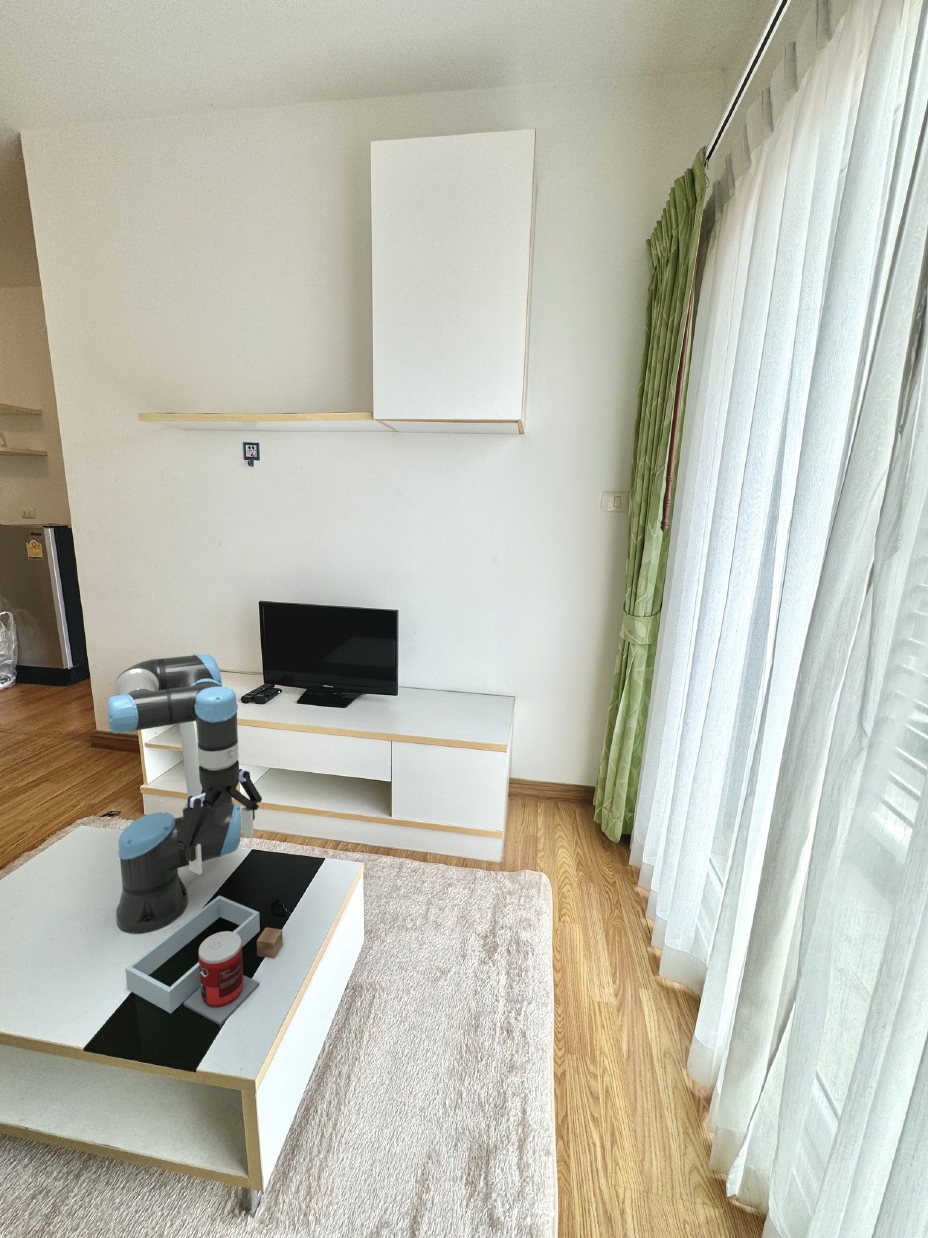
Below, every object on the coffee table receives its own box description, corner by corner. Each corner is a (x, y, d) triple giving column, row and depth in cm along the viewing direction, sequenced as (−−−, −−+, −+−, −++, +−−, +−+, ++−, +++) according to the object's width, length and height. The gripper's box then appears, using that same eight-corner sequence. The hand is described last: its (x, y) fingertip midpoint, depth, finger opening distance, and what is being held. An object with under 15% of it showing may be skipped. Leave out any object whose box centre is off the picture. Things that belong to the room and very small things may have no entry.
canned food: (209, 976, 113) (206, 931, 111) (248, 975, 114) (246, 930, 112) (194, 1009, 106) (191, 961, 103) (236, 1008, 106) (234, 960, 104)
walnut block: (257, 956, 120) (256, 940, 119) (266, 942, 123) (265, 927, 123) (274, 959, 119) (273, 943, 118) (282, 945, 123) (282, 930, 122)
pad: (183, 1005, 107) (183, 1003, 107) (223, 967, 116) (223, 965, 116) (220, 1025, 103) (220, 1023, 103) (259, 985, 112) (259, 982, 112)
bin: (127, 989, 110) (125, 968, 109) (220, 913, 131) (219, 895, 130) (170, 1013, 105) (169, 992, 104) (259, 930, 127) (259, 912, 126)
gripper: (177, 796, 98) (184, 895, 103) (277, 743, 120) (278, 827, 125) (149, 785, 101) (157, 882, 105) (252, 735, 123) (254, 817, 128)
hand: (223, 852), depth 115 cm, fingers open, 13 cm apart
